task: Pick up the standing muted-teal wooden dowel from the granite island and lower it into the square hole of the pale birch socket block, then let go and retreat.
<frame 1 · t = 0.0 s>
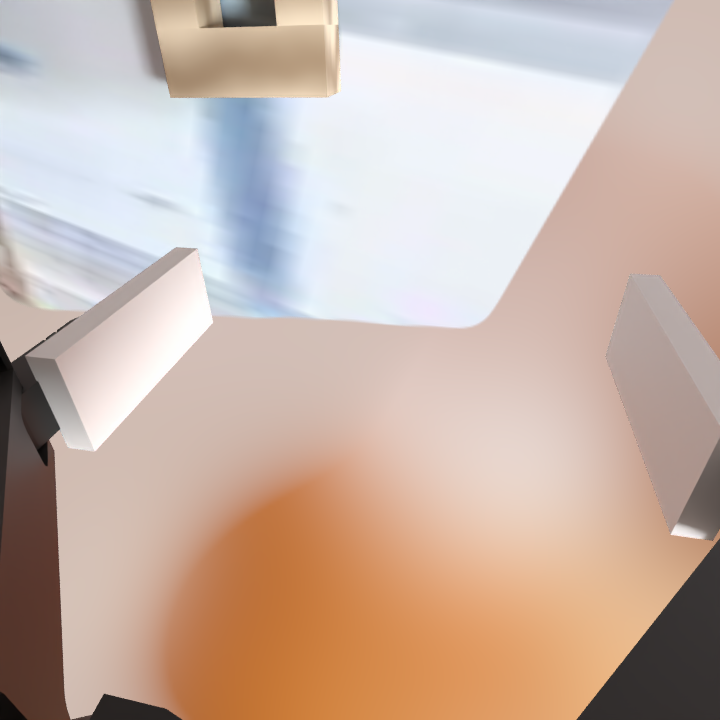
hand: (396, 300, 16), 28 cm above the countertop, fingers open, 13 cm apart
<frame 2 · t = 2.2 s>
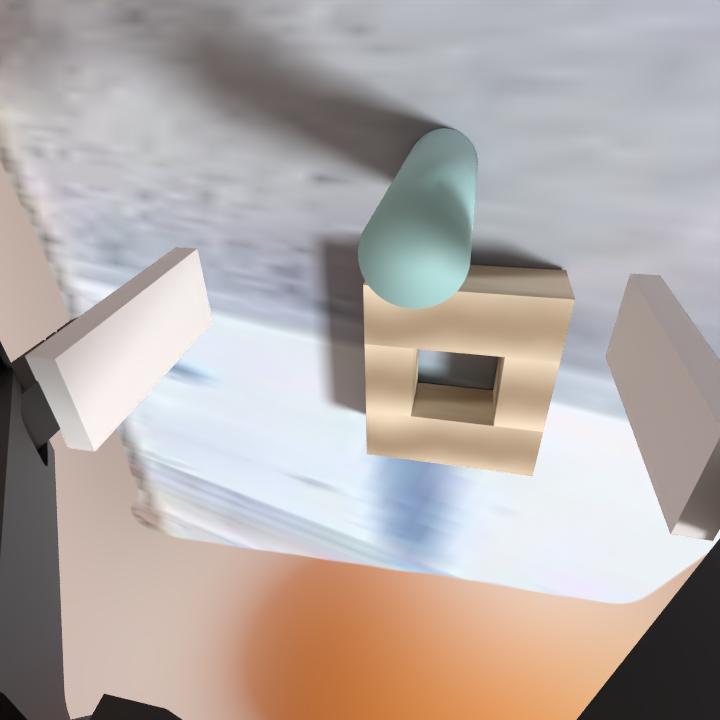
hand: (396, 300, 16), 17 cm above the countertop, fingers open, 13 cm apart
socket block: (458, 355, 36), on the countertop
dowel: (442, 165, 29), on the countertop
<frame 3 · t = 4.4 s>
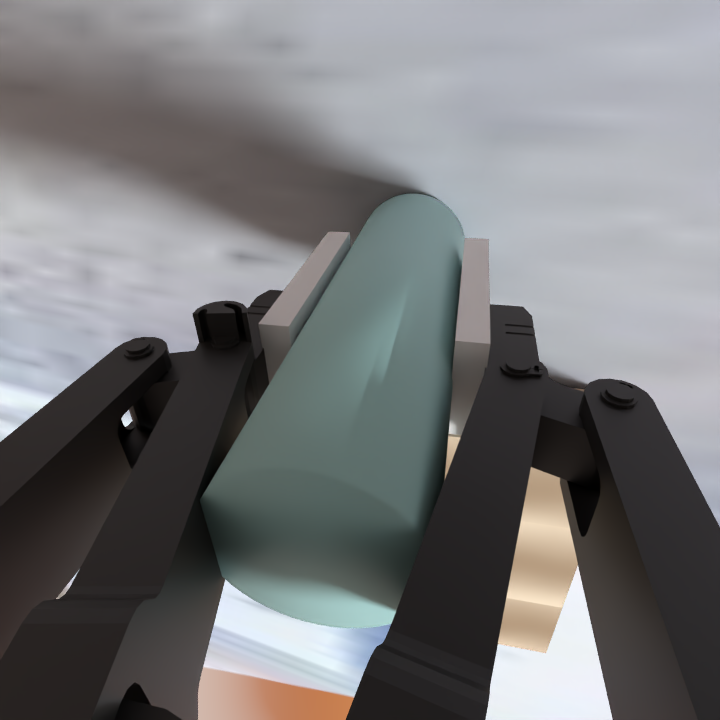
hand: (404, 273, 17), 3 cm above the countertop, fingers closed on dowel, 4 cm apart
socket block: (443, 484, 26), on the countertop
dowel: (412, 245, 19), on the countertop, touching gripper
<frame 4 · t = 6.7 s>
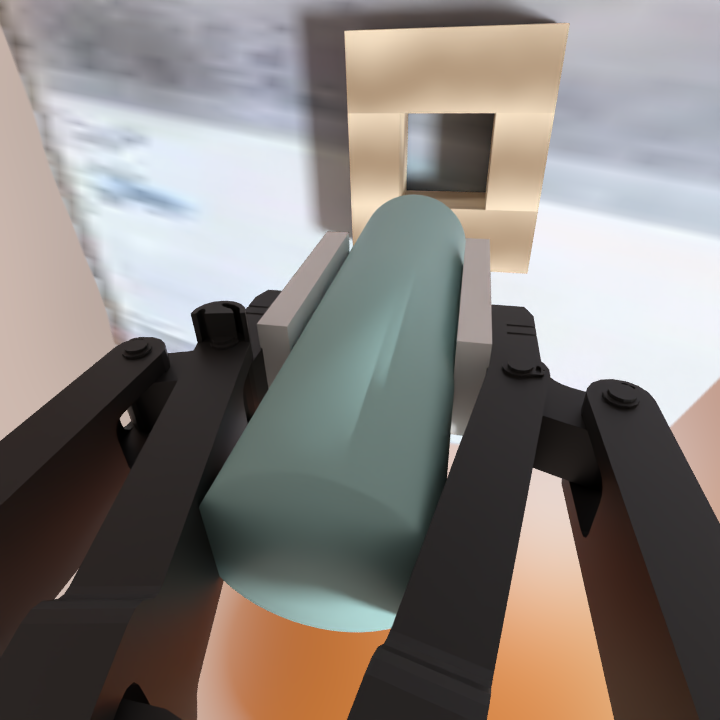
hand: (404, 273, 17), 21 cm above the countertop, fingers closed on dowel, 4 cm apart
socket block: (448, 149, 34), on the countertop
dowel: (413, 246, 19), point 18 cm above the countertop, touching gripper
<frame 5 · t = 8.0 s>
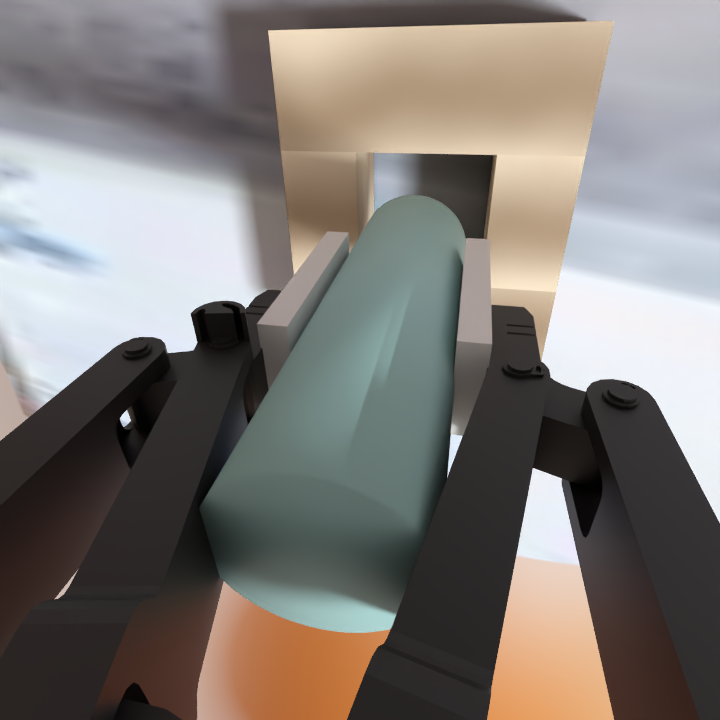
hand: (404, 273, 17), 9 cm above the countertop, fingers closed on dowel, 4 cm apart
socket block: (429, 196, 25), on the countertop
dowel: (413, 247, 19), point 6 cm above the countertop, touching gripper
when the fingers open (5 cm above the countertop, at t = 9.1 s): dowel drops 2 cm, resting in socket block.
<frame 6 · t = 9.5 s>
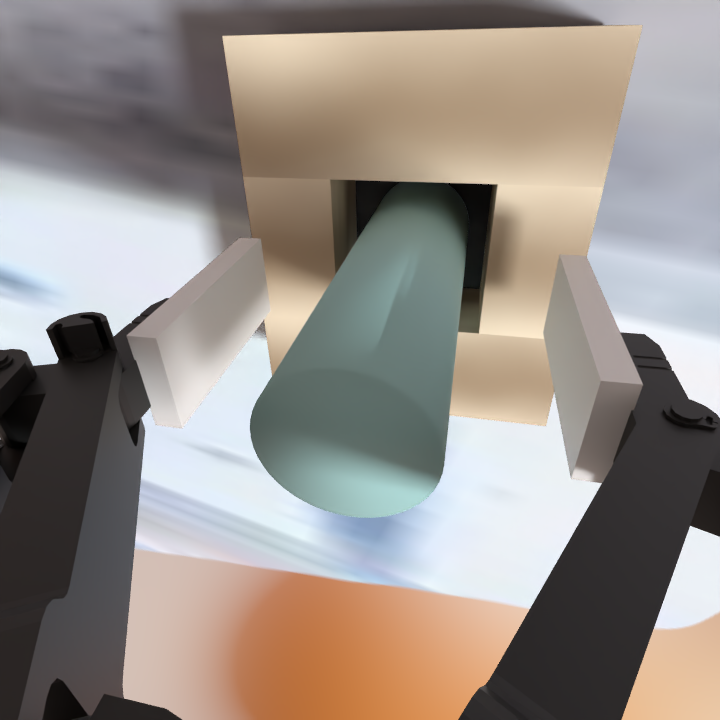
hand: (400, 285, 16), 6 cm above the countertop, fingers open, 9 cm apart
socket block: (420, 225, 21), on the countertop
dowel: (421, 225, 21), resting in socket block
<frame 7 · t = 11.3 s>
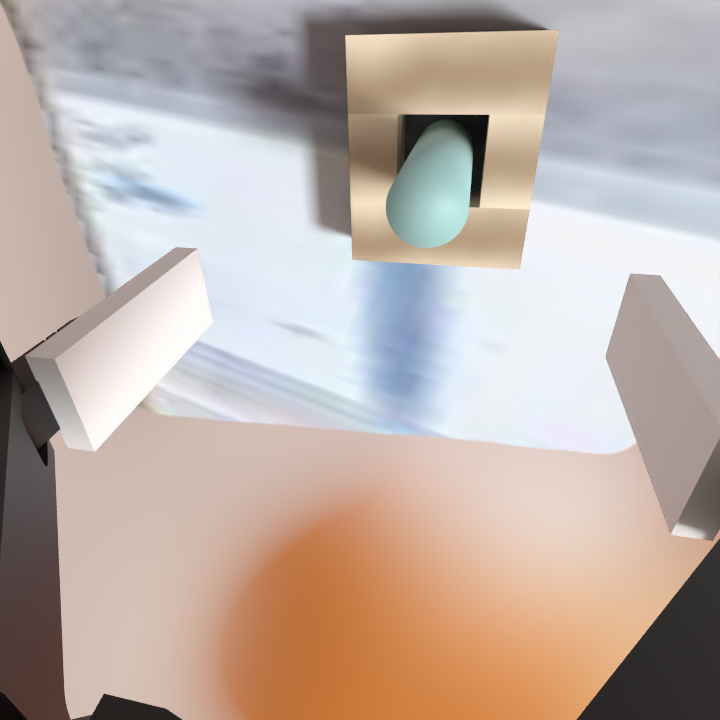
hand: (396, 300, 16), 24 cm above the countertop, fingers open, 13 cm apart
socket block: (443, 150, 35), on the countertop
dowel: (444, 150, 35), resting in socket block
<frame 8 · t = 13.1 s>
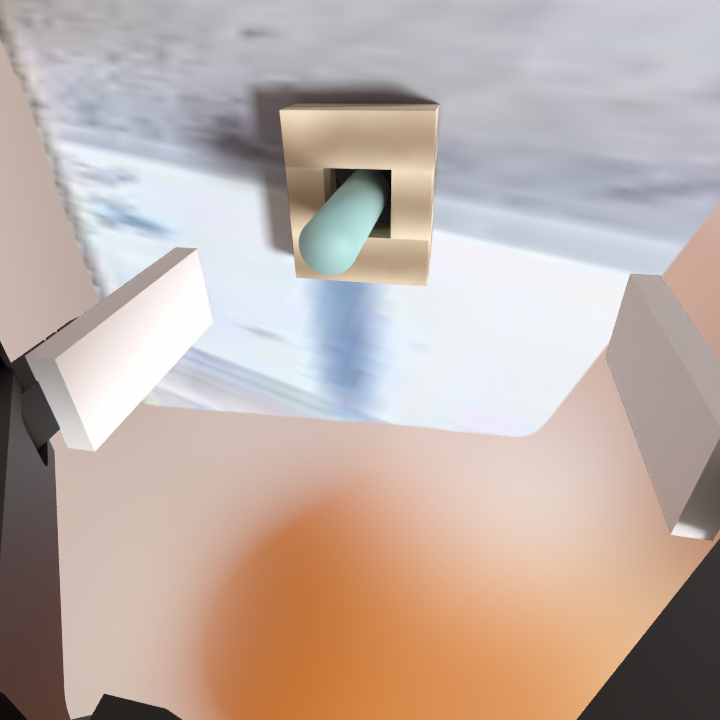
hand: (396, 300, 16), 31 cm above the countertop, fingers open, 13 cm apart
socket block: (366, 191, 45), on the countertop
dowel: (367, 191, 45), resting in socket block
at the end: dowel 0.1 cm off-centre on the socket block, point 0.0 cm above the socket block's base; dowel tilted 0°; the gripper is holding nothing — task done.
